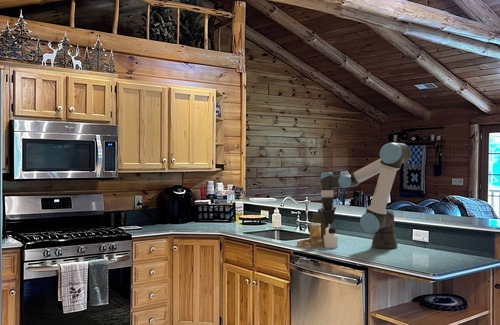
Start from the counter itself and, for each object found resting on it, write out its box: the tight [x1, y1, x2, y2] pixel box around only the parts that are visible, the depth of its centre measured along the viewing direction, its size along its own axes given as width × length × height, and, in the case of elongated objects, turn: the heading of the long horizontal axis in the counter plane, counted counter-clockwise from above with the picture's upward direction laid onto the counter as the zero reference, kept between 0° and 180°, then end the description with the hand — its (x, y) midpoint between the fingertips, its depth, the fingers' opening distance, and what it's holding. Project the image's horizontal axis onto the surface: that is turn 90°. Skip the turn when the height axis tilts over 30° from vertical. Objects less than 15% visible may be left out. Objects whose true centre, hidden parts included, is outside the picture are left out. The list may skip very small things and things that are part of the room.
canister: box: [311, 208, 326, 240], centre depth 334 cm, size 11×10×20 cm
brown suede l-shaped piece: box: [296, 222, 324, 249], centre depth 307 cm, size 16×21×12 cm
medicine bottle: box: [323, 226, 338, 249], centre depth 298 cm, size 7×7×12 cm
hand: (328, 234), depth 308 cm, fingers closed
